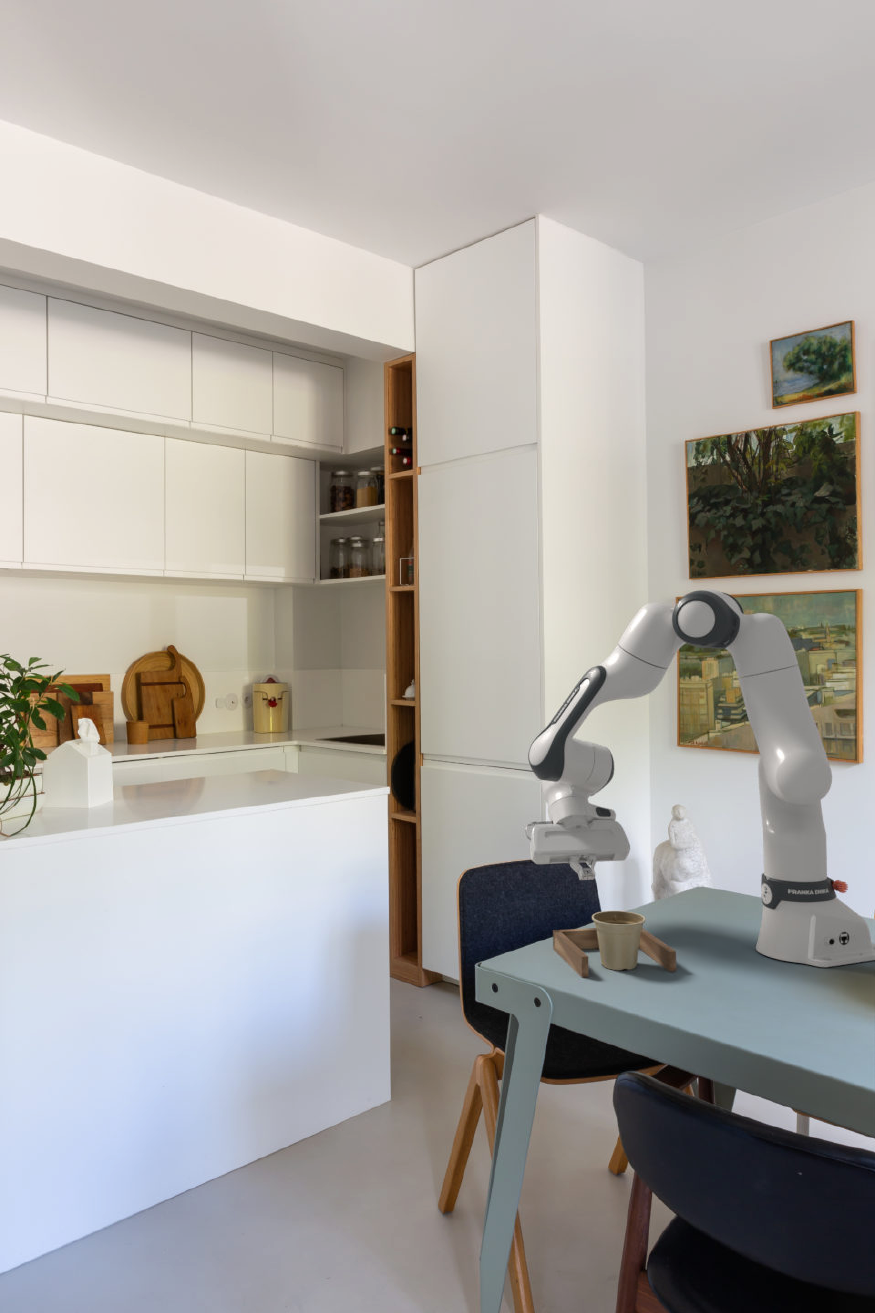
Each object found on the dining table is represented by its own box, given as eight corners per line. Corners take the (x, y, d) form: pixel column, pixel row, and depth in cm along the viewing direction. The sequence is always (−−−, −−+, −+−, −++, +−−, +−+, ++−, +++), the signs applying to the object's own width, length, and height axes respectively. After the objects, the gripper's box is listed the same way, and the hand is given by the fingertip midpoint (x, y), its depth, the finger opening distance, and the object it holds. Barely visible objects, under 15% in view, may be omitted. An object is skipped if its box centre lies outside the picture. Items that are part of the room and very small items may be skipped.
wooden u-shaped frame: (639, 943, 179) (638, 925, 179) (676, 971, 162) (675, 951, 162) (553, 949, 176) (553, 930, 176) (581, 977, 159) (581, 957, 159)
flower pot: (646, 975, 160) (645, 925, 160) (591, 972, 162) (590, 923, 162) (645, 959, 169) (644, 911, 169) (593, 956, 171) (592, 909, 171)
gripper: (526, 813, 188) (539, 871, 179) (622, 810, 192) (640, 867, 182) (520, 831, 193) (533, 889, 183) (614, 828, 196) (632, 884, 186)
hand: (587, 878), depth 182 cm, fingers closed
